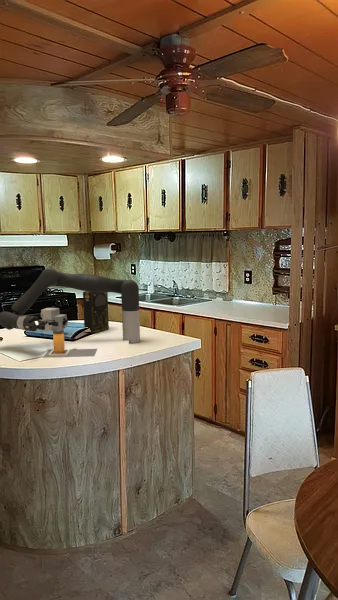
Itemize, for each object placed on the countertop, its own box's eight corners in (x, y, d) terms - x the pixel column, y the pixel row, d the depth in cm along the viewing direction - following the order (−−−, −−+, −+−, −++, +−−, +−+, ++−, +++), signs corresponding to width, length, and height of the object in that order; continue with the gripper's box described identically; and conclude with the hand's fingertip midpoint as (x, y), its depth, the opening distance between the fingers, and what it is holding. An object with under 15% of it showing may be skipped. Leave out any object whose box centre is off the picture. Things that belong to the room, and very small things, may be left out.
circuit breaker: (64, 336, 265) (63, 310, 263) (41, 335, 268) (40, 309, 266) (70, 333, 273) (69, 308, 270) (47, 332, 276) (46, 307, 273)
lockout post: (65, 352, 223) (64, 328, 221) (63, 355, 218) (62, 330, 216) (55, 353, 223) (54, 328, 221) (53, 355, 218) (51, 330, 216)
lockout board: (97, 351, 230) (97, 346, 230) (94, 359, 216) (94, 353, 216) (49, 352, 229) (48, 347, 229) (42, 360, 215) (42, 355, 215)
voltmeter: (93, 334, 268) (91, 291, 265) (82, 332, 273) (80, 291, 269) (110, 329, 282) (109, 288, 278) (99, 328, 286) (98, 288, 282)
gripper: (16, 318, 223) (39, 320, 215) (38, 313, 235) (61, 315, 226) (17, 333, 224) (40, 336, 216) (40, 327, 236) (62, 330, 227)
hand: (51, 325), depth 221 cm, fingers open, 8 cm apart
